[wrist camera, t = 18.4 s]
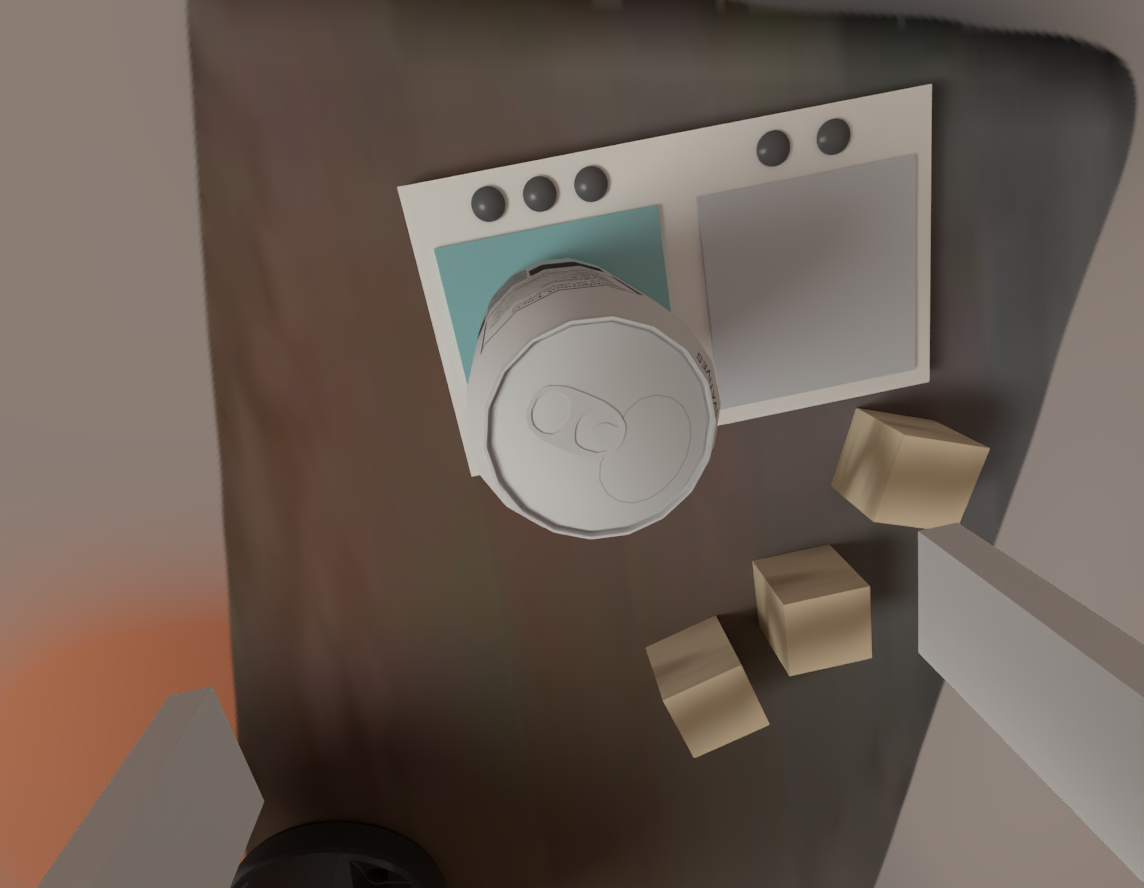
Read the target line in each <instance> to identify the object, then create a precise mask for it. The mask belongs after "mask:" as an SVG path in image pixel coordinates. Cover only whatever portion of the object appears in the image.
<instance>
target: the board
mask: <svg viewBox="0 0 1144 888" xmlns="http://www.w3.org/2000/svg"><path fill="white" fill-rule="evenodd" d="M931 139H932V84H928V85H923V86H917V87H912V88H907V89H902V90H897V91H891V92H886V93H881V94H876V95H871V96H866V97H860V98H855V99H850V100H845V101H840V102H835V103H829V104H824V105H819V106H814V107H809V108H804V109H798V110H793V111H788V112H783V113H778V114H773V115H767V116H762V117H757V118H752V119H747V120H742V121H736V122H731V123H726V124H721V125H716V126H711V127H705V128H700V129H695V130H690V131H685V132H680V133H674V134H669V135H664V136H659V137H654V138H649V139H643V140H638V141H633V142H628V143H623V144H618V145H612V146H607V147H602V148H597V149H592V150H586V151H581V152H576V153H571V154H566V155H561V156H555V157H550V158H545V159H540V160H535V161H530V162H524V163H519V164H514V165H509V166H504V167H499V168H493V169H488V170H483V171H478V172H473V173H468V174H462V175H457V176H452V177H447V178H442V179H437V180H431V181H426V182H421V183H416V184H411V185H406V186H400V187H397V188H398V192H399V196H400V200H401V204H402V208H403V212H404V216H405V220H406V223H407V227H408V231H409V235H410V239H411V243H412V247H413V251H414V254H415V258H416V262H417V266H418V270H419V274H420V278H421V282H422V286H423V289H424V293H425V297H426V301H427V305H428V309H429V313H430V317H431V320H432V324H433V328H434V332H435V336H436V340H437V344H438V348H439V352H440V355H441V359H442V363H443V367H444V371H445V375H446V379H447V383H448V387H449V390H450V394H451V398H452V402H453V406H454V410H455V414H456V418H457V421H458V425H459V429H460V433H461V437H462V441H463V445H464V449H465V453H466V456H467V460H468V464H469V468H470V472H471V476H477V475H479V472H478V469H477V466H476V463H475V460H474V458H473V455H472V452H471V449H470V446H469V443H468V441H467V438H466V435H465V427H466V394H467V386H468V381H469V377H470V372H471V367H472V362H473V358H474V353H475V348H476V343H477V339H478V334H479V329H480V324H481V321H482V319H483V317H484V314H485V312H486V309H487V307H488V304H489V302H490V300H491V297H492V295H493V294H494V293H495V292H496V291H497V290H498V289H499V288H500V287H501V286H502V285H503V284H504V283H505V281H506V280H507V279H508V278H509V277H510V276H511V275H512V274H514V273H516V272H518V271H520V270H522V269H524V268H526V267H528V266H530V265H532V264H534V263H536V262H538V261H543V260H552V259H562V258H571V259H575V260H579V261H582V262H586V263H590V264H594V265H597V266H599V267H601V268H602V269H604V270H605V271H607V272H609V273H610V274H612V275H614V276H615V277H617V278H619V279H620V280H622V281H624V282H625V283H627V284H628V285H630V286H632V287H633V288H635V289H637V290H638V291H640V292H642V293H643V294H645V295H646V296H648V297H650V298H651V299H653V300H654V301H656V302H657V303H658V304H660V305H661V306H663V307H664V308H665V309H667V310H668V311H670V312H671V313H672V314H674V315H675V316H676V317H678V318H679V319H681V320H682V321H683V322H685V323H686V324H688V325H689V326H690V328H691V329H692V331H693V333H694V334H695V336H696V337H697V339H698V340H699V342H700V343H701V345H702V347H703V348H704V350H705V351H706V353H707V354H708V356H709V358H710V359H711V361H712V362H713V367H714V372H715V377H716V382H717V387H718V392H719V397H720V402H721V407H720V413H719V419H718V425H717V426H719V425H724V424H728V423H733V422H738V421H743V420H748V419H752V418H757V417H762V416H767V415H772V414H777V413H781V412H786V411H791V410H796V409H801V408H806V407H810V406H815V405H820V404H825V403H830V402H835V401H839V400H844V399H849V398H854V397H859V396H863V395H868V394H873V393H878V392H883V391H888V390H892V389H897V388H902V387H907V386H912V385H917V384H921V383H926V382H929V373H930V256H931Z"/></svg>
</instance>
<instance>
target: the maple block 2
mask: <svg viewBox="0 0 1144 888" xmlns="http://www.w3.org/2000/svg"><path fill="white" fill-rule="evenodd" d="M752 563H753V573H754V583H755V593H756V603H757V613H758V623H759V627H760V629H761V631H762V632H763V634H764V636H765V637H766V639H767V640H768V642H769V644H770V645H771V647H772V649H773V650H774V652H775V654H776V655H777V657H778V658H779V660H780V662H781V663H782V665H783V667H784V668H785V670H786V671H787V673H788V675H789V676H794V675H798V674H803V673H807V672H812V671H816V670H821V669H825V668H830V667H834V666H839V665H843V664H848V663H852V662H857V661H861V660H866V659H870V658H872V639H871V605H870V586H869V585H868V584H867V583H866V582H865V581H864V580H863V578H862V577H861V576H860V575H859V574H858V573H857V572H856V571H855V570H854V569H853V568H852V567H851V566H850V565H849V564H848V563H847V562H846V561H845V560H844V559H843V558H842V557H841V556H840V555H839V554H838V553H837V552H836V551H835V550H834V549H833V548H832V547H831V546H830V545H829V544H828V545H824V546H819V547H814V548H810V549H805V550H800V551H796V552H791V553H787V554H782V555H777V556H773V557H768V558H763V559H759V560H754V561H752Z"/></svg>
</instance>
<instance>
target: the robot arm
mask: <svg viewBox="0 0 1144 888" xmlns="http://www.w3.org/2000/svg"><path fill="white" fill-rule="evenodd" d="M918 653H919V654H920V655H921V656H922V657H923V658H924V659H925V660H926V661H927V662H928V663H929V664H930V665H931V666H932V667H933V668H934V669H935V670H936V671H937V672H938V673H939V674H940V675H941V676H942V677H943V678H944V679H945V680H946V681H947V682H948V683H949V684H950V685H951V686H952V687H953V688H954V689H955V690H956V691H957V693H958V694H959V695H961V697H962V698H963V699H964V700H965V701H966V702H967V703H968V704H969V705H970V706H971V707H972V708H973V709H974V710H975V711H976V712H977V713H978V714H979V715H980V716H981V717H982V718H983V719H984V720H985V721H986V722H987V723H988V724H989V725H990V726H991V727H992V728H993V729H994V730H995V731H996V732H997V733H998V735H1000V736H1001V738H1002V739H1004V741H1005V742H1006V743H1008V745H1009V746H1010V747H1011V748H1012V749H1013V750H1014V751H1015V752H1016V753H1017V754H1018V755H1019V756H1020V757H1021V758H1022V759H1023V760H1024V761H1025V762H1026V763H1027V764H1028V765H1029V766H1030V767H1031V768H1032V769H1033V770H1034V771H1035V772H1036V773H1037V774H1038V776H1039V777H1040V778H1041V779H1042V780H1043V781H1044V782H1045V783H1046V784H1047V785H1048V786H1049V787H1050V788H1051V789H1052V790H1053V791H1054V792H1055V793H1056V794H1057V795H1058V796H1059V797H1060V798H1061V799H1062V800H1063V801H1064V802H1065V803H1066V804H1067V805H1068V806H1069V807H1070V808H1071V809H1072V810H1073V811H1074V812H1075V813H1076V814H1077V816H1078V817H1079V818H1080V819H1081V820H1083V822H1084V823H1085V824H1086V825H1087V826H1088V827H1089V828H1090V829H1091V830H1092V831H1093V832H1094V833H1095V834H1096V835H1097V836H1098V837H1099V838H1100V839H1101V840H1102V841H1103V842H1104V843H1105V844H1106V845H1107V846H1108V847H1109V848H1110V849H1111V850H1112V851H1113V852H1114V853H1115V854H1116V855H1117V857H1118V858H1119V859H1120V860H1122V862H1123V863H1124V864H1125V865H1126V866H1127V867H1128V868H1129V869H1130V870H1131V871H1132V872H1133V873H1134V874H1135V875H1136V876H1137V877H1138V878H1139V879H1140V880H1141V881H1142V882H1143V883H1144V645H1143V644H1141V643H1140V642H1138V641H1137V640H1135V639H1134V638H1132V637H1131V636H1129V635H1128V634H1126V633H1125V632H1123V631H1122V630H1120V629H1119V628H1117V627H1116V626H1114V625H1113V624H1111V623H1109V622H1108V621H1106V620H1105V619H1103V618H1102V617H1100V616H1099V615H1097V614H1096V613H1094V612H1093V611H1091V610H1090V609H1088V608H1087V607H1085V606H1083V605H1082V604H1081V603H1079V602H1077V601H1076V600H1074V599H1073V598H1071V597H1070V596H1068V595H1067V594H1065V593H1064V592H1062V591H1060V590H1059V589H1058V588H1056V587H1055V586H1053V585H1052V584H1050V583H1049V582H1047V581H1046V580H1044V579H1042V578H1041V577H1039V576H1038V575H1036V574H1035V573H1033V572H1032V571H1030V570H1029V569H1027V568H1026V567H1024V566H1023V565H1021V564H1020V563H1018V562H1017V561H1015V560H1014V559H1012V558H1011V557H1009V556H1007V555H1006V554H1004V553H1003V552H1001V551H1000V550H998V549H997V548H995V547H994V546H992V545H991V544H989V543H988V542H986V541H985V540H983V539H982V538H980V537H979V536H977V535H975V534H974V533H972V532H971V531H969V530H968V529H966V528H965V527H963V526H962V525H960V524H959V523H953V524H948V525H944V526H939V527H935V528H930V529H926V530H921V531H918ZM263 804H264V800H263V797H262V795H261V793H260V791H259V789H258V786H257V784H256V782H255V780H254V777H253V775H252V773H251V771H250V769H249V766H248V764H247V762H246V760H245V758H244V755H243V753H242V751H241V749H240V746H239V744H238V742H237V740H236V738H235V735H234V733H233V731H232V729H231V727H230V724H229V722H228V720H227V718H226V715H225V713H224V711H223V709H222V707H221V705H220V703H219V700H218V698H217V696H216V693H215V691H214V689H213V687H212V686H211V687H206V688H202V689H197V690H193V691H188V692H184V693H179V694H175V695H170V696H168V698H167V699H166V701H165V702H164V704H163V705H162V707H161V708H160V710H159V711H158V712H157V714H156V715H155V717H154V718H153V720H152V721H151V723H150V724H149V725H148V727H147V728H146V730H145V731H144V733H143V734H142V736H141V737H140V739H139V740H138V742H137V743H136V745H135V746H134V747H133V749H132V750H131V752H130V753H129V755H128V756H127V757H126V759H125V760H124V762H123V763H122V765H121V766H120V768H119V769H118V770H117V772H116V773H115V775H114V776H113V778H112V779H111V781H110V782H109V784H108V785H107V787H106V788H105V790H104V791H103V792H102V794H101V795H100V797H99V798H98V800H97V801H96V802H95V804H94V806H93V807H92V808H91V810H90V811H89V813H88V814H87V816H86V817H85V818H84V820H83V821H82V823H81V824H80V826H79V827H78V829H77V830H76V832H75V833H74V834H73V836H72V837H71V839H70V840H69V842H68V843H67V845H66V846H65V847H64V849H63V851H62V852H61V853H60V855H59V856H58V858H57V859H56V861H55V862H54V863H53V865H52V866H51V868H50V869H49V871H48V872H47V874H46V875H45V876H44V878H43V879H42V881H41V882H40V884H39V885H38V887H37V888H445V887H444V883H443V879H442V877H441V874H440V872H439V870H438V868H437V867H436V865H435V864H434V862H433V861H432V860H431V859H430V857H429V856H428V855H427V854H426V853H425V852H424V851H422V850H421V849H420V848H419V847H418V846H416V845H415V844H414V843H412V842H410V841H409V840H407V839H405V838H404V837H402V836H400V835H397V834H395V833H393V832H390V831H388V830H385V829H381V828H378V827H374V826H370V825H365V824H358V823H346V822H330V823H319V824H312V825H307V826H303V827H299V828H295V829H292V830H289V831H286V832H284V833H281V834H279V835H277V836H274V837H273V838H271V839H269V840H267V841H265V842H264V843H262V844H261V845H259V846H258V847H257V848H255V849H254V850H253V851H252V852H251V853H249V854H248V855H247V856H246V857H245V858H244V860H243V861H242V862H241V863H240V861H241V858H242V856H243V854H244V851H245V849H246V846H247V844H248V841H249V839H250V836H251V834H252V831H253V829H254V826H255V824H256V821H257V819H258V816H259V814H260V811H261V809H262V806H263ZM239 864H240V865H239Z"/></svg>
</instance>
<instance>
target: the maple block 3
mask: <svg viewBox="0 0 1144 888" xmlns="http://www.w3.org/2000/svg"><path fill="white" fill-rule="evenodd" d="M989 450H990V448H989V447H987V446H984V445H982V444H980V443H978V442H976V441H974V440H972V439H970V438H968V437H966V436H964V435H962V434H960V433H958V432H956V431H954V430H952V429H950V428H948V427H946V426H944V425H942V424H940V423H938V422H936V421H934V420H929V419H923V418H917V417H910V416H904V415H898V414H892V413H886V412H879V411H873V410H867V409H861V408H856V411H855V414H854V417H853V420H852V423H851V426H850V429H849V432H848V435H847V438H846V441H845V444H844V447H843V450H842V453H841V456H840V459H839V462H838V465H837V468H836V471H835V474H834V477H833V480H832V483H831V486H832V487H833V488H834V489H835V490H836V491H837V492H839V493H840V494H841V495H842V496H843V497H845V498H846V499H847V500H848V501H849V502H850V503H852V504H853V505H854V506H855V507H856V508H858V509H859V510H860V511H861V512H862V513H863V514H865V515H866V516H867V517H868V518H869V519H871V520H872V521H873V522H879V523H887V524H894V525H902V526H909V527H917V528H924V529H930V528H935V527H939V526H944V525H948V524H953V523H960V521H961V518H962V516H963V513H964V511H965V509H966V506H967V504H968V501H969V499H970V496H971V494H972V492H973V489H974V487H975V484H976V482H977V479H978V477H979V474H980V472H981V470H982V467H983V465H984V462H985V460H986V457H987V455H988V452H989Z"/></svg>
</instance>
